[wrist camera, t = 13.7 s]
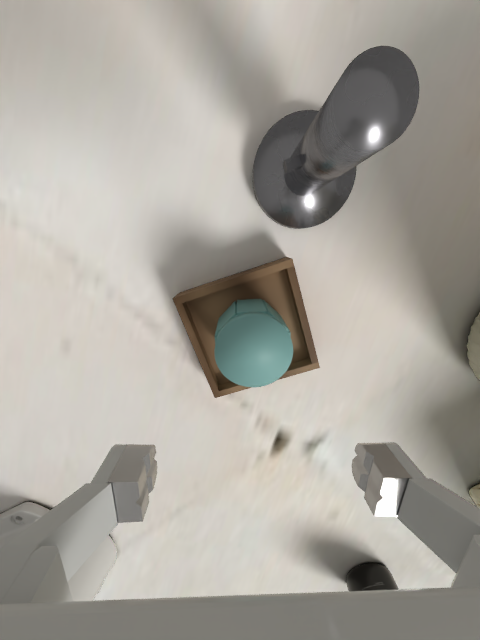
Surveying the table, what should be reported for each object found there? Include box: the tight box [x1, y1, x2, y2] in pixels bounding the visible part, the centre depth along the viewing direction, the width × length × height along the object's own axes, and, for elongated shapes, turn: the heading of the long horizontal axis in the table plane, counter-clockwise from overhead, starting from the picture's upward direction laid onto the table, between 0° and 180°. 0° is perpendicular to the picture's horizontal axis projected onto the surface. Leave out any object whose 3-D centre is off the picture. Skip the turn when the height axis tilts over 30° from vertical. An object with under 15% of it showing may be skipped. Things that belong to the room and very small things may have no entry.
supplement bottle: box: [346, 563, 399, 591], centre depth 31 cm, size 7×7×12 cm
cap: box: [214, 299, 293, 387], centre depth 20 cm, size 6×6×5 cm
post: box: [253, 46, 419, 229], centre depth 14 cm, size 8×8×11 cm
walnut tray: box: [173, 257, 320, 398], centre depth 22 cm, size 10×10×2 cm
